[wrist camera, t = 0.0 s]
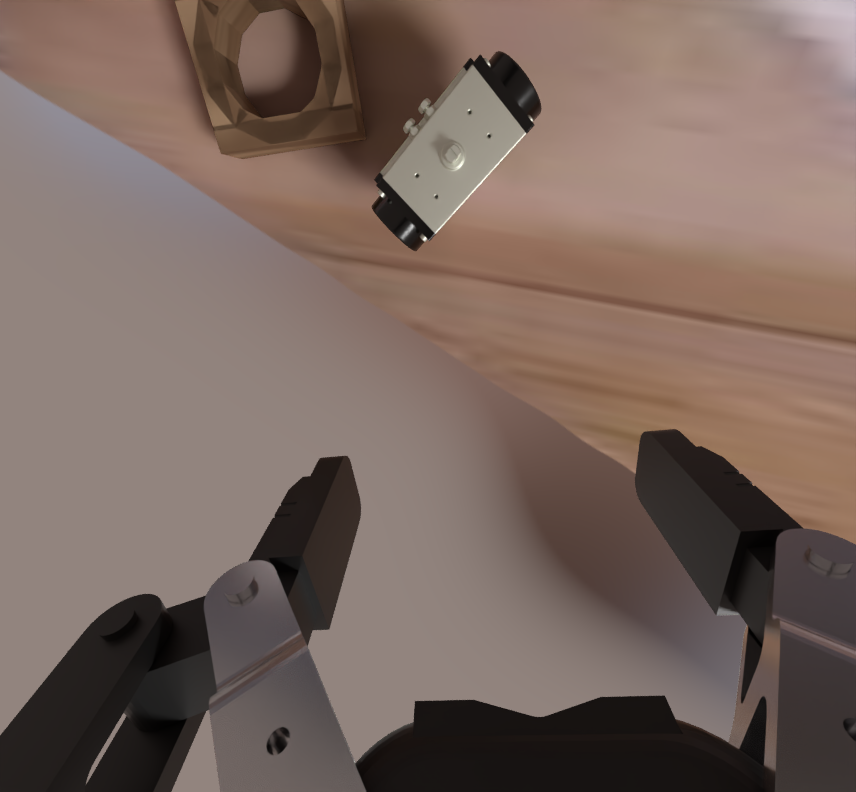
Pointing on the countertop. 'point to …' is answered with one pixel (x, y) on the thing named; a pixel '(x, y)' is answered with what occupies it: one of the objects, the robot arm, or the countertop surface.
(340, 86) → the socket block
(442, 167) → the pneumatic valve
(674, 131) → the countertop surface
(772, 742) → the robot arm
